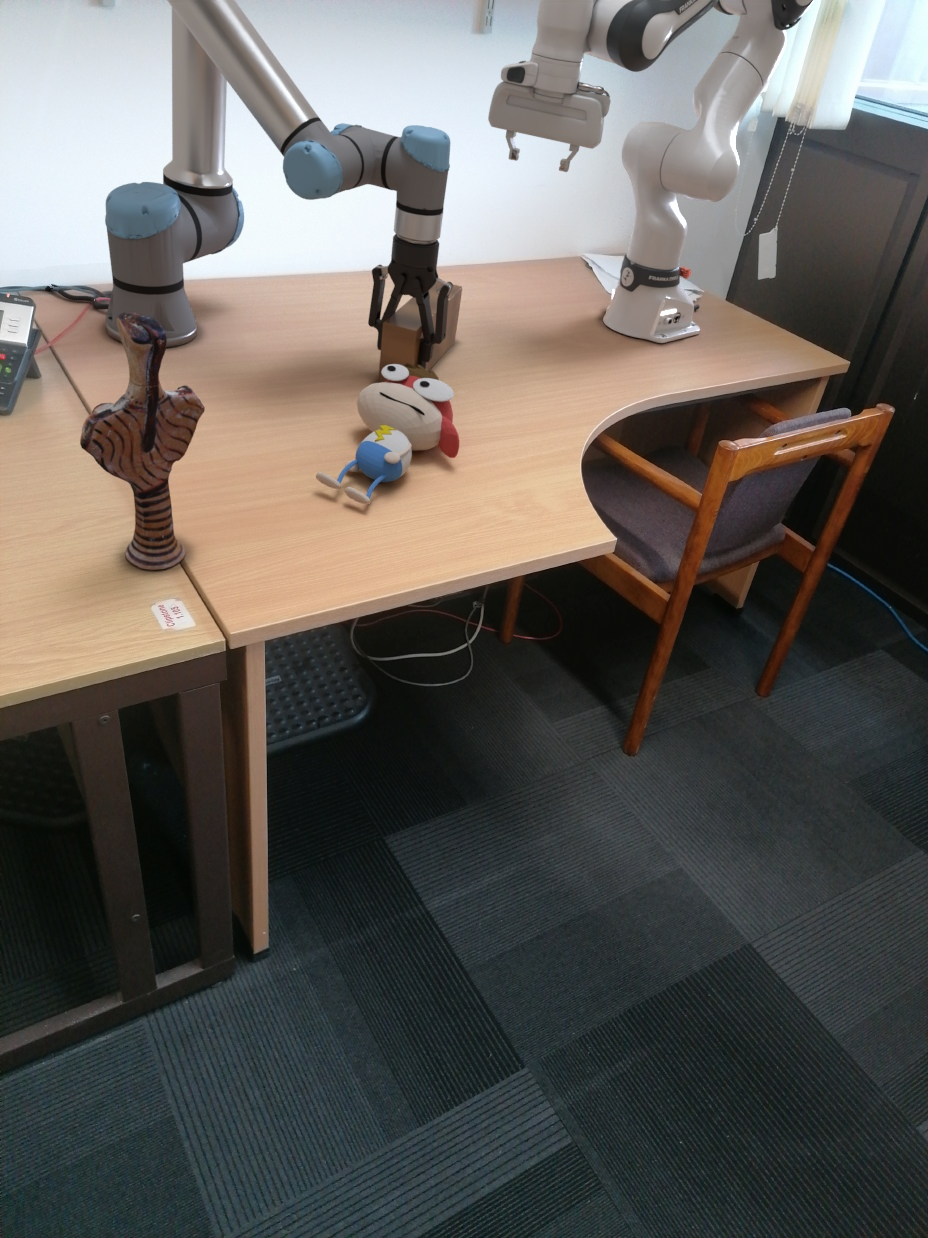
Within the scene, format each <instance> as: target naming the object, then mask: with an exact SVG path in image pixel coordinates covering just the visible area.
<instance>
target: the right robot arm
mask: <svg viewBox="0 0 928 1238" xmlns="http://www.w3.org/2000/svg"><path fill="white" fill-rule="evenodd" d="M814 1H815V0H539V5H538V11H537V16H536V38H535V42H534V45H533V46H532V49H531V54H530V59H529V60H521V61H519V62H513V63H509V64H506V65H504V66H503V67H502V68H501V71H500V79H501V82H499V83H498V84H497V85H496V87H495V89H494V91H493V94H492V97H491V101H490V106H489V110H488V117H487V119H488V123H489V125H490V127H491V128H496V129H499V130H505V131H506V132H505V140H506V143H507V146H508V148H509V152H508V160H510V161H514V162H515V161H516V162H517V161H518V160H519V158H520V155H519V154H520V152H521V149H520V148H518V147H516V144H515V140H514V139H515V137H517V133H518V134H522V135H527V136H532V137H537V138H541V139H545V140H550V141H553V142H560V143H562V144H563V143H564V144H569V148H568V151H569V152H571V153H570V154H569V155H568V156H567V158H561V159H560V161H559V167H558V171H559V172H564V173H567V172H569V170H570V165H571V161H572V160H573V159H574V157H575V156H576V155H577V154H578V152H579V151H580V147H582V148H586V149H591V150H593V149H595V148H596V147H598V146H599V145H600V144H601V142H602V139H603V132H604V125H605V124H604V123H605V117H606V116H607V115H608V113H609V111H610V105H611V96H610V94H609V92H608V91H607V90H605V88H604V87H603V86H599V85H592V84H590V83H585V82H583V81H582V82H581V75H582V70H583V66H584V65H583V64H584V58H585V55H587V56H590V57H593V58H597V60H598V59H599V60H601V61H606V62H609V63H612V64H614V65H617V66H619V67H621V68H623V69H625V70H628V71H629V72H632V73H634V72H635V73H640V72H642V71H645V70H647V69H648V68H650V67H651V66H652V65H653V64H654V63H655V62H656V61H657V60H659V58H660V57H661V56H662V55H663V54H664V51H665V50H666V49H667V48H668V47H669V46H670V44H672V43H673V42H674V40H676V39H677V38H678V37H679V36H680V35H681V34H682V33H684V32H685V31H687V30H688V29H689V28H690V27H691V26H692V25H694V24H695V23H696V22H697V21H699V20H700V19H701V18H703V16H705V15H706V14H707V13H708V12H709V11H710V10H712V9H715V10H716V11H718V12H719V13H722V14H724V15H728V16H733V15H736V16H740V17H739V20H738V22H737V26H736V29H735V30H734V33H733V34H732V35H731V37H730V38H729V39H728V40H727V42H726V43H725V44H724V45H723V47H722V48H721V49H720V51H719V52H718V54H717V55H716V56H715V58H714V60H713V61H712V62H711V64H710V65H709V67H708V68H707V69H706V71H705V73H704V74H703V75H702V77H701V78H700V80H699V81H698V83H697V84H696V86H695V87H694V88H693V89H694V90H693V93H692V107H693V111H694V113H695V115H696V117H697V119H698V121H697V122H696V124H695V125H694V126H693V127H692V128H691V129H685V128H682V127H680V126H676V125H673V124H670V123H667V122H665V121H664V122H663V121H640V122H638V123H637V124H635V125H633V127H632V128H631V129H630V130H629V131H628V133H627V134H626V136H625V138H624V140H623V143H622V147H621V162H622V166H623V168H624V170H625V171H626V173H627V175H628V178H629V180H630V184H631V187H632V193H633V202H634V217H633V226H632V229H631V235H630V239H629V244H628V248H627V251H626V254H625V255H624V256H623V260H622V261H621V266H620V271H619V272H620V274H619V276H620V277H619V278H618V281H617V284H616V287H615V289H614V288H612V293H611V301H610V303H609V306H607V307H606V310H605V313H604V316H603V317H602V321H603V323H604V325H605V326H607V327H608V328H610V329H611V330H613V331H615V332H617V333H620V334H621V335H622V334H623V335H625V336H629V337H632V338H638V339H641V340H647V341H651V342H654V343H657V344H665V343H669V342H674V341H677V340H680V339H685V338H688V337H692V336H696V335H699V334H700V332H701V328H700V326H699V325H697V323H695V322H694V321H693V317H694V313H695V311H696V310H698V309H700V304H695V305H694V301H693V300H692V298H691V297H690V296H689V294H688V293H687V292H686V290H684V288H683V287H682V285H681V284H680V282H681V277H682V278H683V279H685V280H687V279H689V278H690V277H691V275H692V270H691V269H690V268H687V267H686V266H682V267H681V266H680V260H681V257H682V253H683V250H684V247H685V243H686V239H687V236H688V223H687V221H686V219H685V217H684V215H682V213H681V211H680V209H679V206H678V205H679V204H678V200H677V195H679V196H681V197H684V198H687V199H689V200H692V201H696V202H697V201H699V202H707V203H717V202H720V201H721V200H723V199H724V198H725V197H726V196H728V195H729V194H730V193H731V191H732V190H733V189H734V187H735V186H736V183H737V181H738V178H739V175H740V157H739V155H738V152H737V148H736V137H737V134H738V131H739V128H740V126H741V124H742V122H743V121H744V119H745V117H746V115H747V114H748V112H749V111H750V109H751V108H752V106H753V104H754V103H755V102H756V100H757V98H758V97H759V96H760V94H761V93H762V91H763V90H764V88H765V87H766V85H767V84H768V82H769V80H770V78H771V77H772V75H773V74H774V72H775V70H776V68H777V66H778V65H779V62H780V60H781V58H782V56H783V55H784V52H785V49H786V47H787V41H788V39H787V37H788V36H787V32H786V31H788V30H790V29H791V28H794V27H795V26H796V25H797V24H798V23H799V22H800V21H801V19H802V17H803V16H804V15H805V14H806V13H807V12H808V10H809V9H810V7H811V6H812V4H813V3H814Z"/></svg>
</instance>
